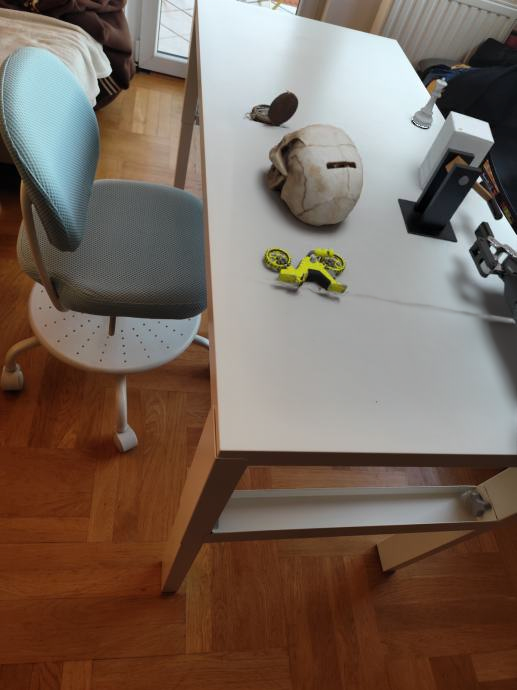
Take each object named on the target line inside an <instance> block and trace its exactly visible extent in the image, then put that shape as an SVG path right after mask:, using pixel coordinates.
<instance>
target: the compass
mask: <svg viewBox="0 0 517 690" xmlns="http://www.w3.org/2000/svg"><path fill="white" fill-rule="evenodd" d="M298 108H299V99H298V96H296V94H295V93H293V92H291V91H289V90H288V89H286V92H283V93H280V94H279V95H278V96H276V97H275V98H274V99H273V100H272V101H271V103H270V104H265V103H262V104H258V105H255V106H253V107H252V109H251V112H246V113H244V116H245V117H246V118H247V119H249V120H250V119H254V120H255V121H256V122H257V123H259V124H264V125H269V126H273V127H276V126H279V125H283V124H285V123H287V122H289V121H290V120H291V119H292V117H294V115H295V114H296V112H297V110H298ZM248 115H250V116H251V117H249V116H248Z"/></svg>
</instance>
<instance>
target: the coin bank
mask: <svg viewBox="0 0 517 690" xmlns="http://www.w3.org/2000/svg"><path fill="white" fill-rule="evenodd" d="M268 159H269V161H270V162H271V163H272V164H271V165H270V168H269V170H268V171H267V181H266V184H267V185H268V188H269V189H271V190H274V191H279V192H280V193H281V194H280V198H281V200H283V201H284V202H285V203H286V204H287V207H288V208H289V210H290V212H291V214H292V215H293V216H294V217H295V218H296V219H298V220H299V221H301V222H302V223H305V224H308V225H311V226H315V227H320V226H324V225H326V226H327V225H328V226H329V225H335V224H338V223H340V222H343V221H344V220H345V219H347V218H348V217H349V215H350V214H351V213H352V211H353V210H354V208H355V206H356V205H357V203H358V201H360V197H361V194H362V191H363V185H364V165H363V161H362V157H361V155H360V154H359V151H358V149H357V147H356V144H355V142H354V141H353V140H352V139H351V136H349V135H348V134H347V132H346V131H345V130H344V129H343V128H342V127H341V128H340V127H338V126H335V125H330V124H324V123H323V124H321V123H319V124H308V125H305V126H304V127H301V128H299V129H298V130H294V131H293V132H289V133H286V134H285V135H284V136H283V137H282V138H281V140H280V141H279V142H278V144H276V145H274V146H273V147H271V149H270V150H269V152H268Z"/></svg>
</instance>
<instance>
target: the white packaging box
mask: <svg viewBox="0 0 517 690" xmlns="http://www.w3.org/2000/svg"><path fill="white" fill-rule="evenodd" d="M494 140H495V139H494V138H493V134H492V130H491V128H490V124H489V122H487V121H484V120H481V119H477V118H476V117H475V118H474V117H472V116H469V115H465V114H462V113H458V112H456V111H452V110H451V111H450V112H449V113H448V116H447V117H446V119H445V121H443V124H442V126H441V128H440V129H439V132H438V133H437V135H436V137H435V139H434V141H433V142H432V144H431V146H430V148H429V150H427V153H426V155H425V156H424V159H423V161H422V163H421V164H420V166H419V168H418V179H419V188H420V190H422V191H423V190H424V188H425V187H426V185H427V183H428V181H429V180H430V178H431V176H432V175H433V173H434V171H435V170H436V168H437V166H438V165H439V163H440V161H441V159H442V158H443V156H444V154H445V153H446V151H447V149H448V148H451V149H455V150H460V151H464V152H468V153H473V154H474V156H475V158H474V159H473V161H472V162H471V164H470V166H472V167H477V168H479V167H480V165H481V164H482V162H483V161H484V159H485V157H486V156H487V154H488V153H489V151H490V150H491V148H492V146H493V145H494V144H495V141H494Z"/></svg>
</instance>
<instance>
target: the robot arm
mask: <svg viewBox="0 0 517 690" xmlns="http://www.w3.org/2000/svg"><path fill="white" fill-rule="evenodd" d="M474 235H475V238H476V240H475V241H474V243H473V244H472V245H471V246H470V247H469V249H468V253H469V255H470V256H471V259H472V261H473V263H474V266H475V267H476V270H477V272H478V274H479V276H480V277H481V278H483V279H487V278H488V277H489V276H490V275H495V276H497V277H498V278H499V279H500V280H501V281H502V283H503V298H504V301H505V303H506V306H507V307H508V310H509V313H510V314H511V317H512V319H513V322H514V324H515V326H516V327H517V251H516V250H515V249H513V248H512V247H511V246H509V244H506V243H504V244H502V243H500V242H499V241H498V240H497V239H496V238H495V234H494V232H493V230H492V228H491V225H490V224H489V222H488V221H483V220H482V221H481V222H480V223H479V225H478V226H477V228H476V229H475V230H474ZM491 247H493V249H494V250H495V252H494V253H493V252H492V250H491ZM503 254H506V256H505V258H504V259H503V260H502V262H501V263H500V262H499V260H500V258H501V257H502V256H503Z"/></svg>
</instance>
